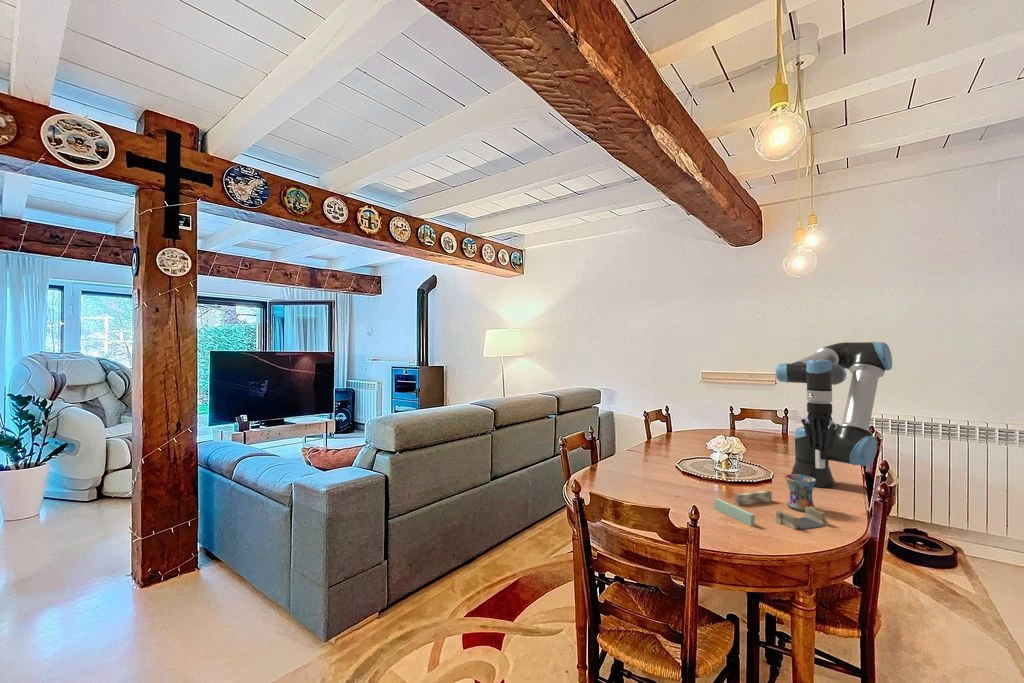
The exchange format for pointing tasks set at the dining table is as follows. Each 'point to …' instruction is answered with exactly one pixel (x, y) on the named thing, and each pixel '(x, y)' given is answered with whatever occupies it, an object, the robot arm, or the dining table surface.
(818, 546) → the dining table surface
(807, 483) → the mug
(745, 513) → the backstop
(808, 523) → the plate
